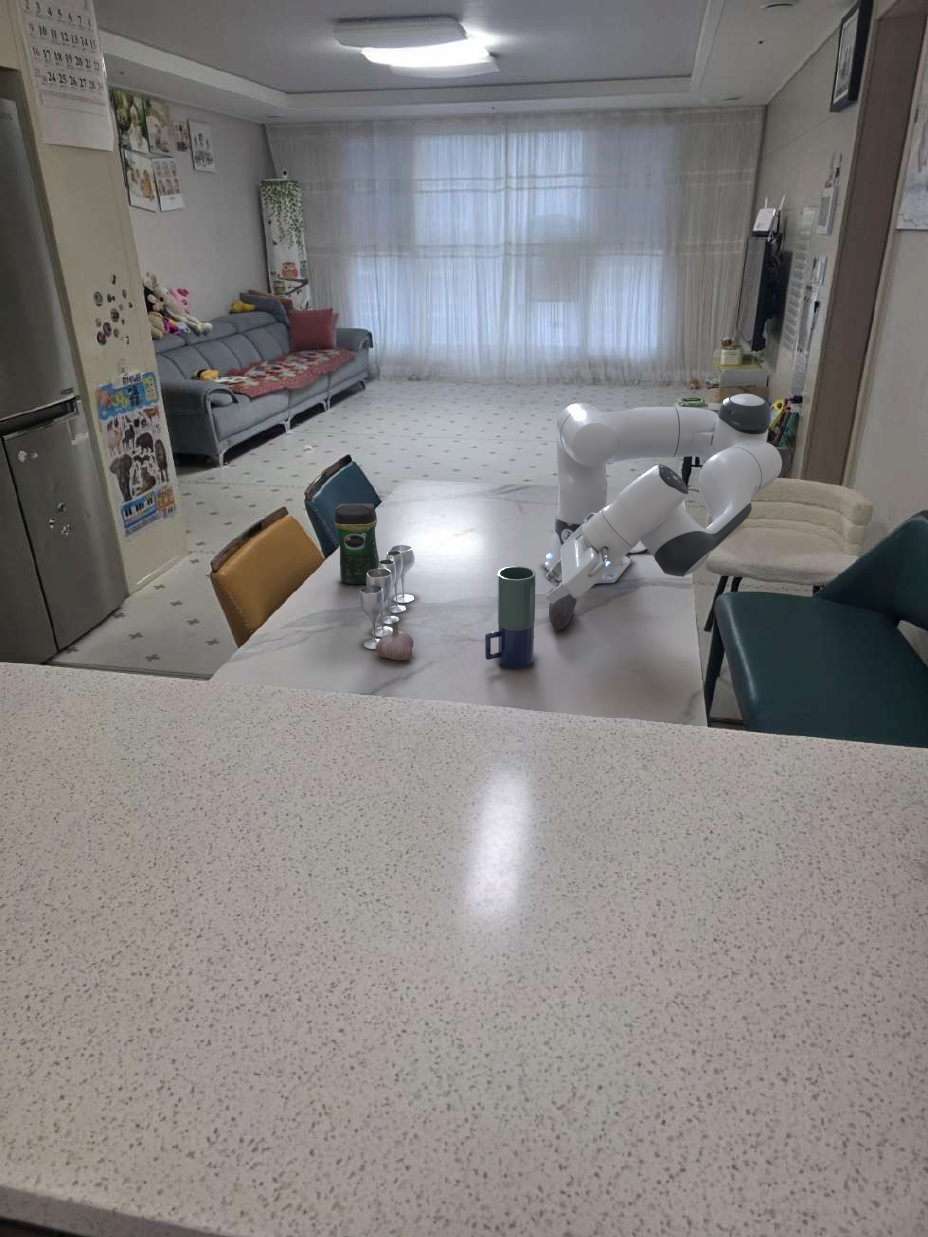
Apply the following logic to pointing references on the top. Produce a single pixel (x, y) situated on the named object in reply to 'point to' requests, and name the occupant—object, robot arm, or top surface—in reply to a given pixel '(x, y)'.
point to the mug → (512, 647)
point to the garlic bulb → (395, 644)
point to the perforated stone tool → (561, 611)
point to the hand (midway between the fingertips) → (548, 589)
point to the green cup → (516, 598)
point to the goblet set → (386, 590)
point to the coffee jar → (356, 541)
